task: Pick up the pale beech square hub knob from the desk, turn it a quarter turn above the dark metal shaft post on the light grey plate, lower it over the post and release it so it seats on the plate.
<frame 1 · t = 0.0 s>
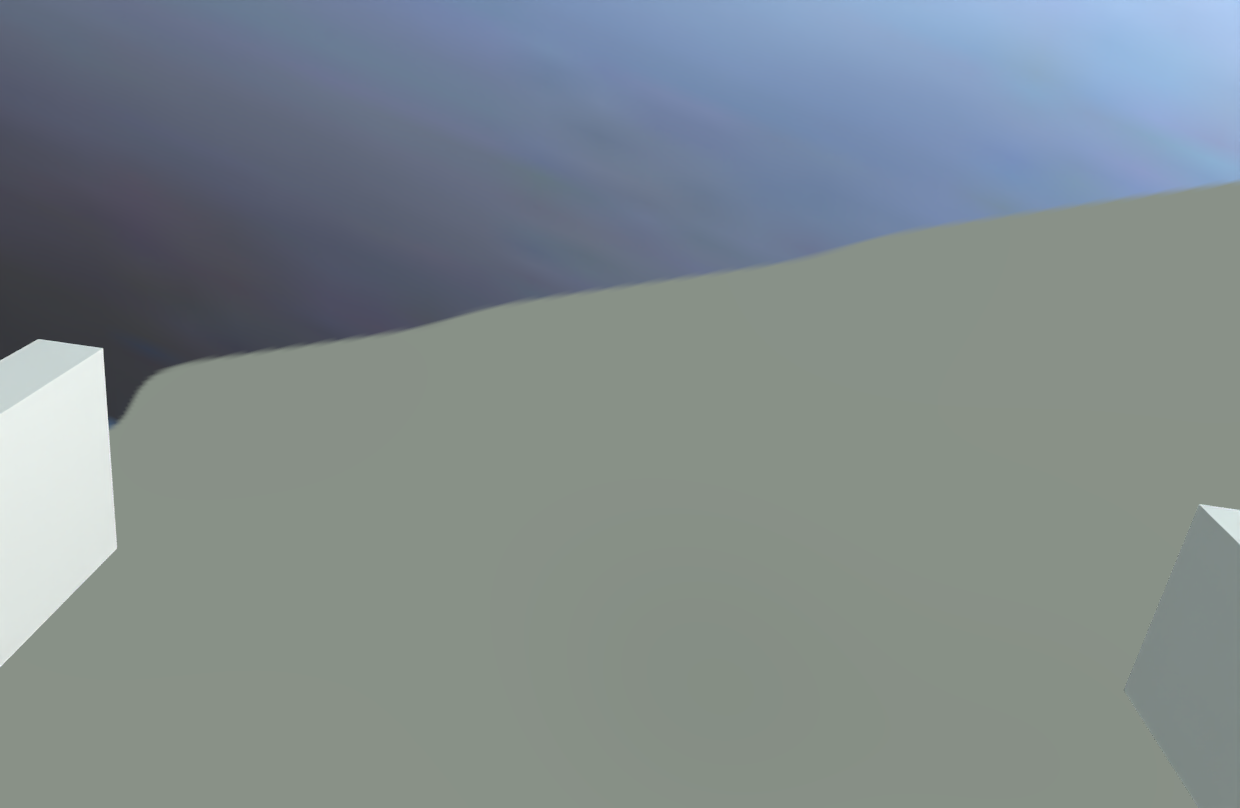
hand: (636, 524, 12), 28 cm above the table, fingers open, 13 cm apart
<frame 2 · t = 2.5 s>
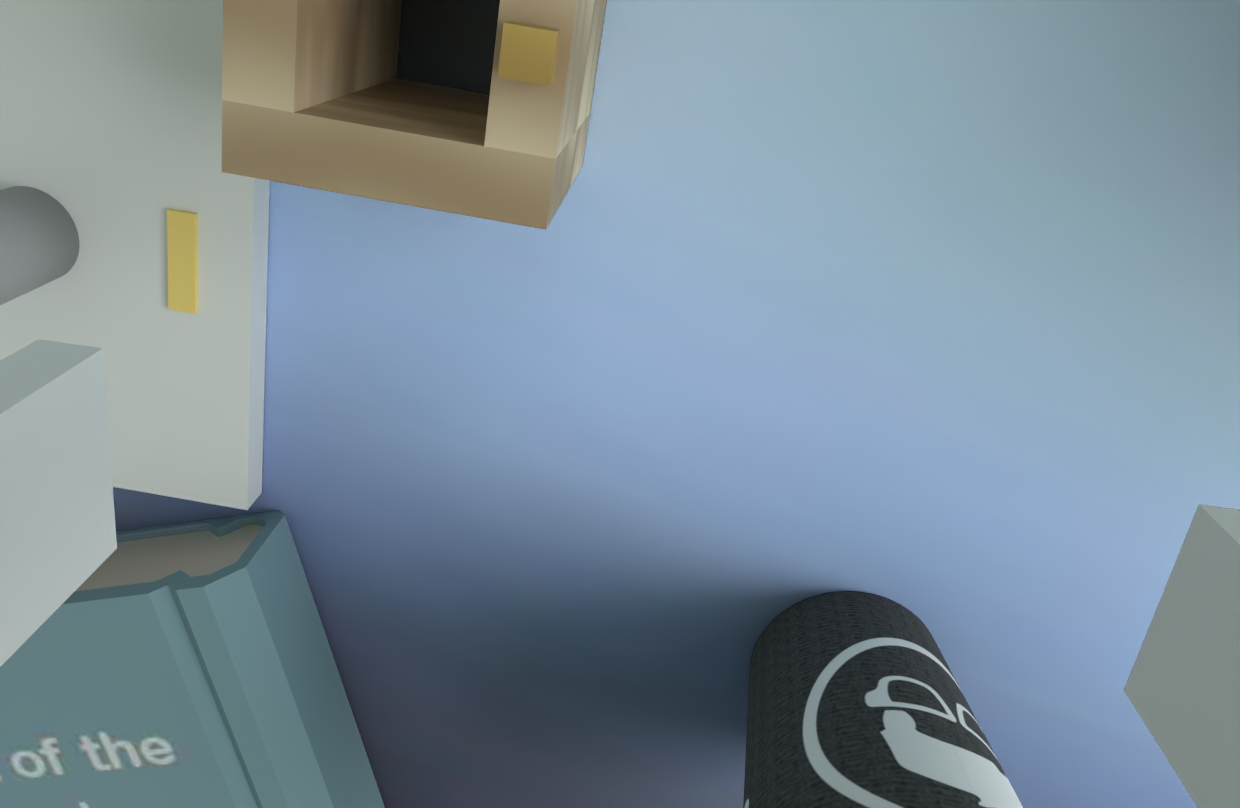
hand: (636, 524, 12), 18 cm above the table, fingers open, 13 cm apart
coffee cup: (842, 666, 35), on the table
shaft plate: (55, 225, 31), on the table
knob: (474, 15, 28), on the table
book: (188, 778, 40), on the table
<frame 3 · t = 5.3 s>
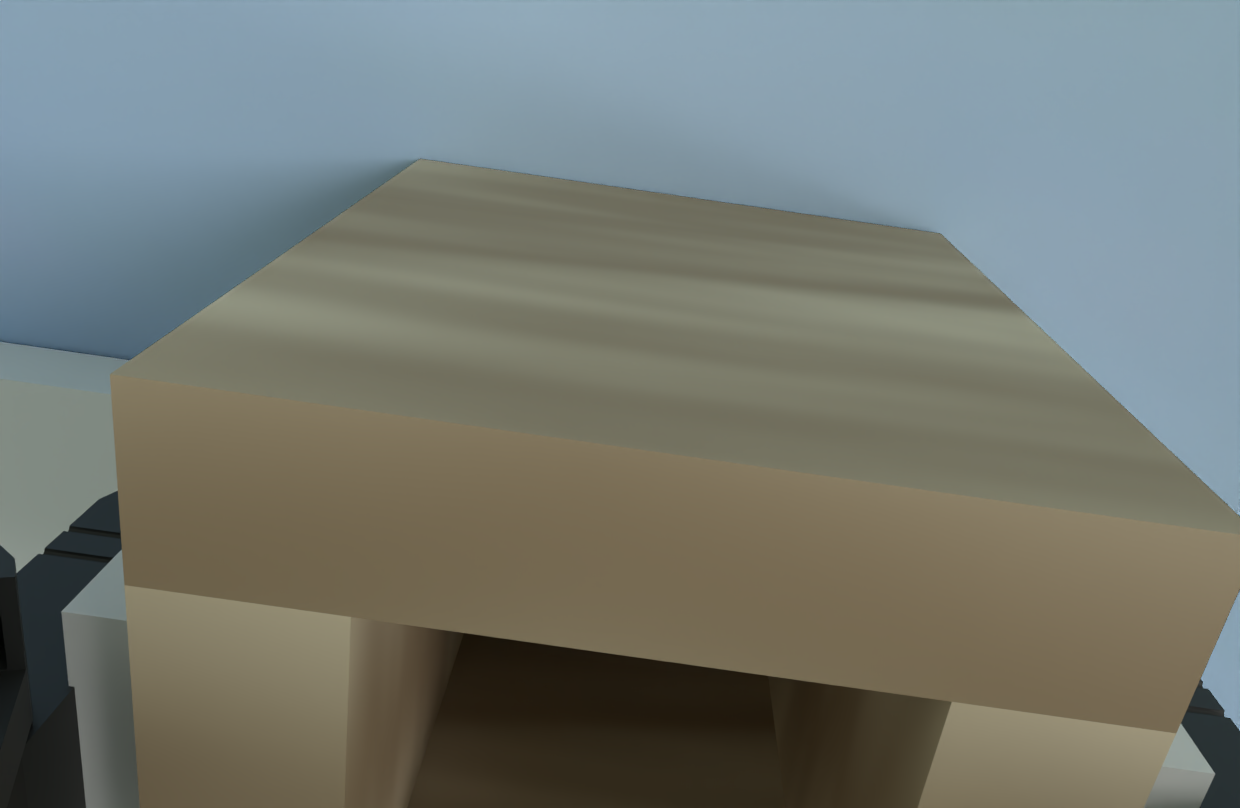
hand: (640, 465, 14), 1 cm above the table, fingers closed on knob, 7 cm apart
knob: (643, 433, 15), on the table, touching gripper
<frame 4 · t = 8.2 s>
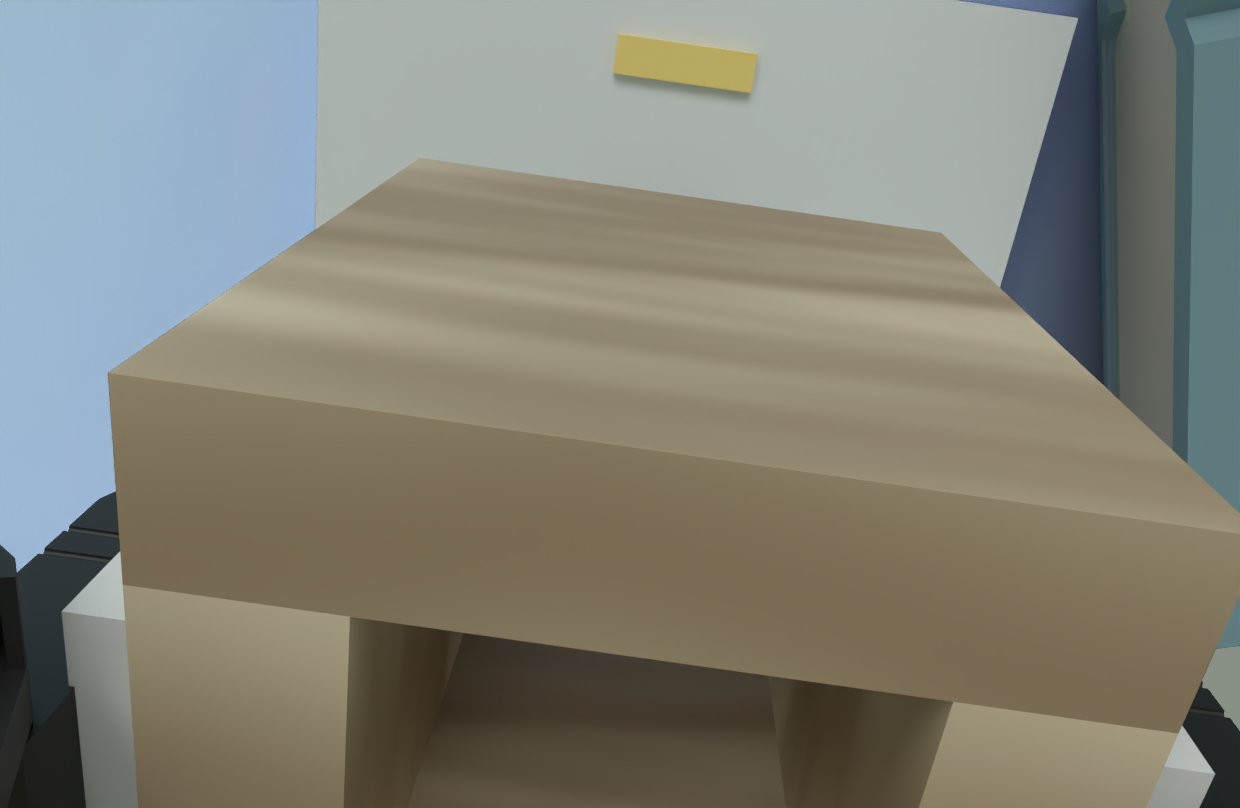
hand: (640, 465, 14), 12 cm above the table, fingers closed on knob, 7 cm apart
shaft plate: (655, 251, 25), on the table
knob: (643, 432, 15), point 11 cm above the table, touching gripper
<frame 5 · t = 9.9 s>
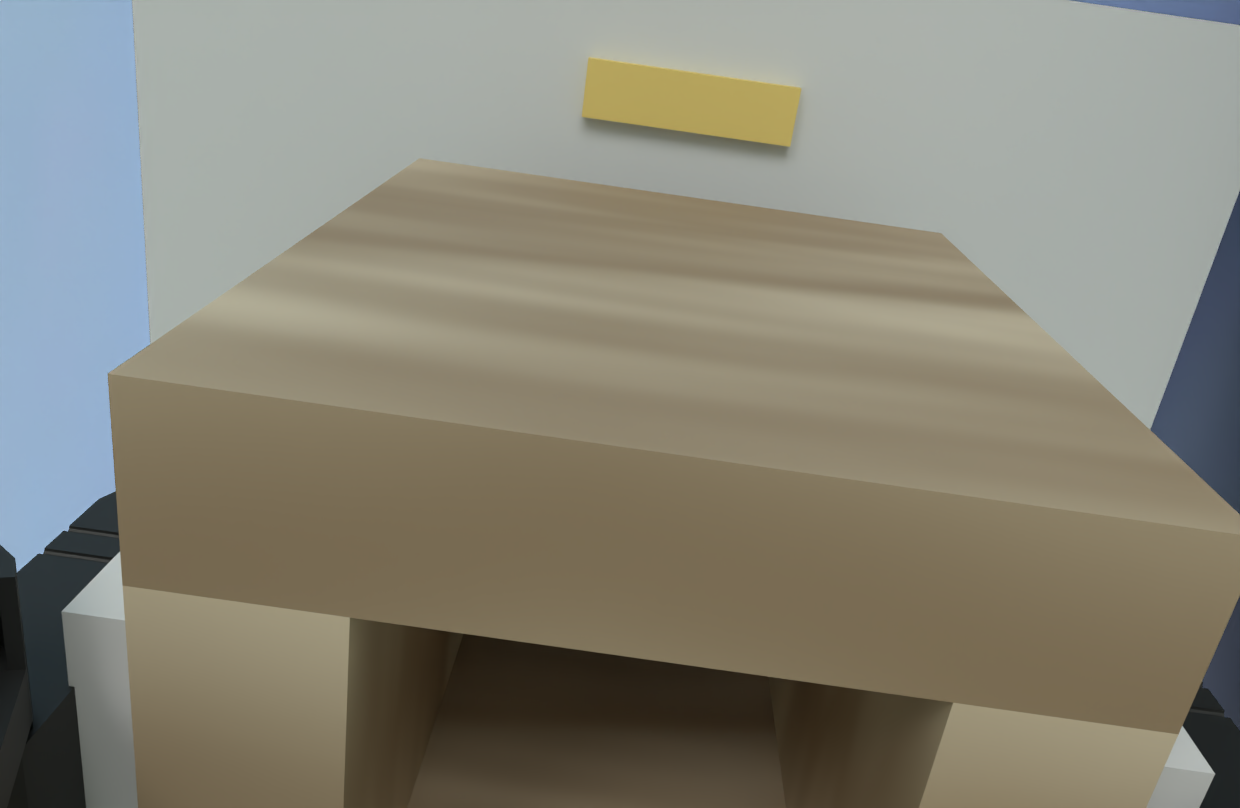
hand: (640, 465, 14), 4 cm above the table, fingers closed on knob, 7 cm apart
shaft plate: (647, 364, 17), on the table
knob: (643, 433, 15), point 3 cm above the table, touching gripper
when the fingers open (3 cm above the table, at t = 11.2 s): knob stays where it is, resting on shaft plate.
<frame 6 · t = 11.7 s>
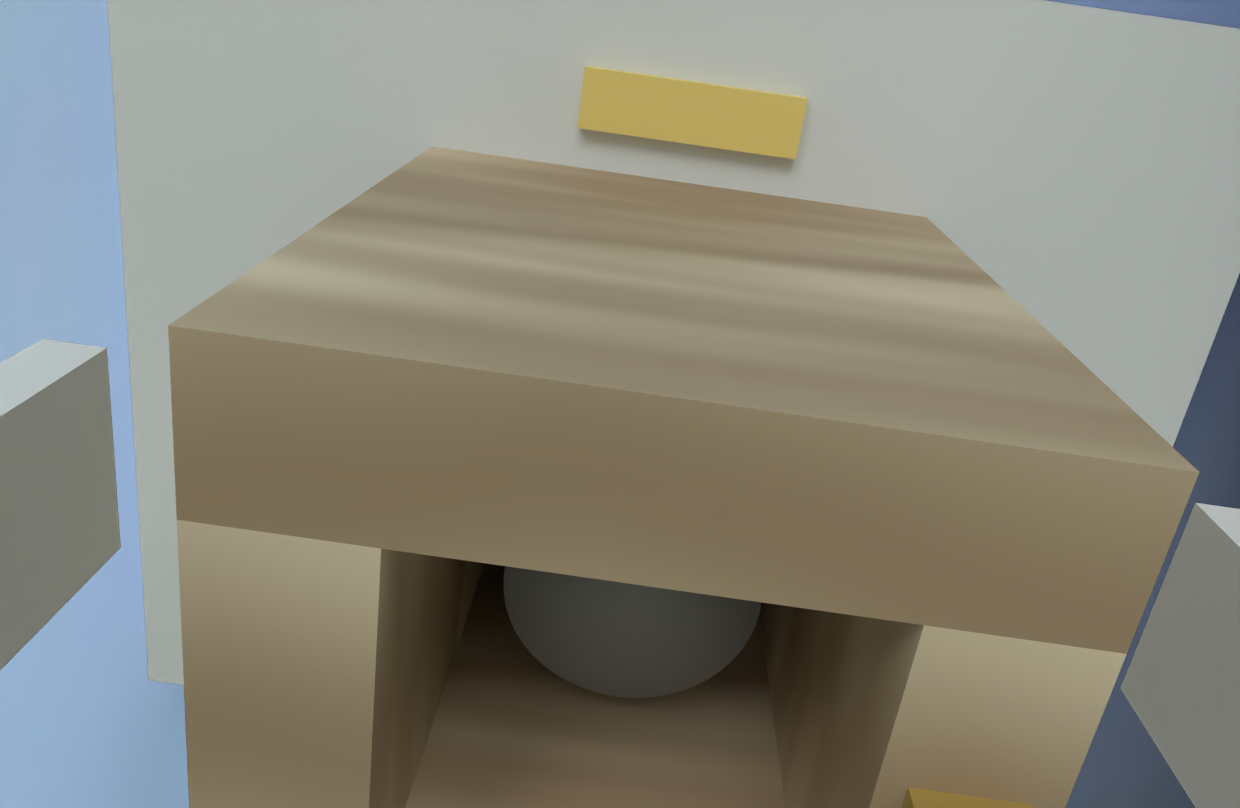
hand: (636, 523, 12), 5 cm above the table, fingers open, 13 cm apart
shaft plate: (646, 383, 17), on the table
knob: (644, 409, 16), point 1 cm above the table, touching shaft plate
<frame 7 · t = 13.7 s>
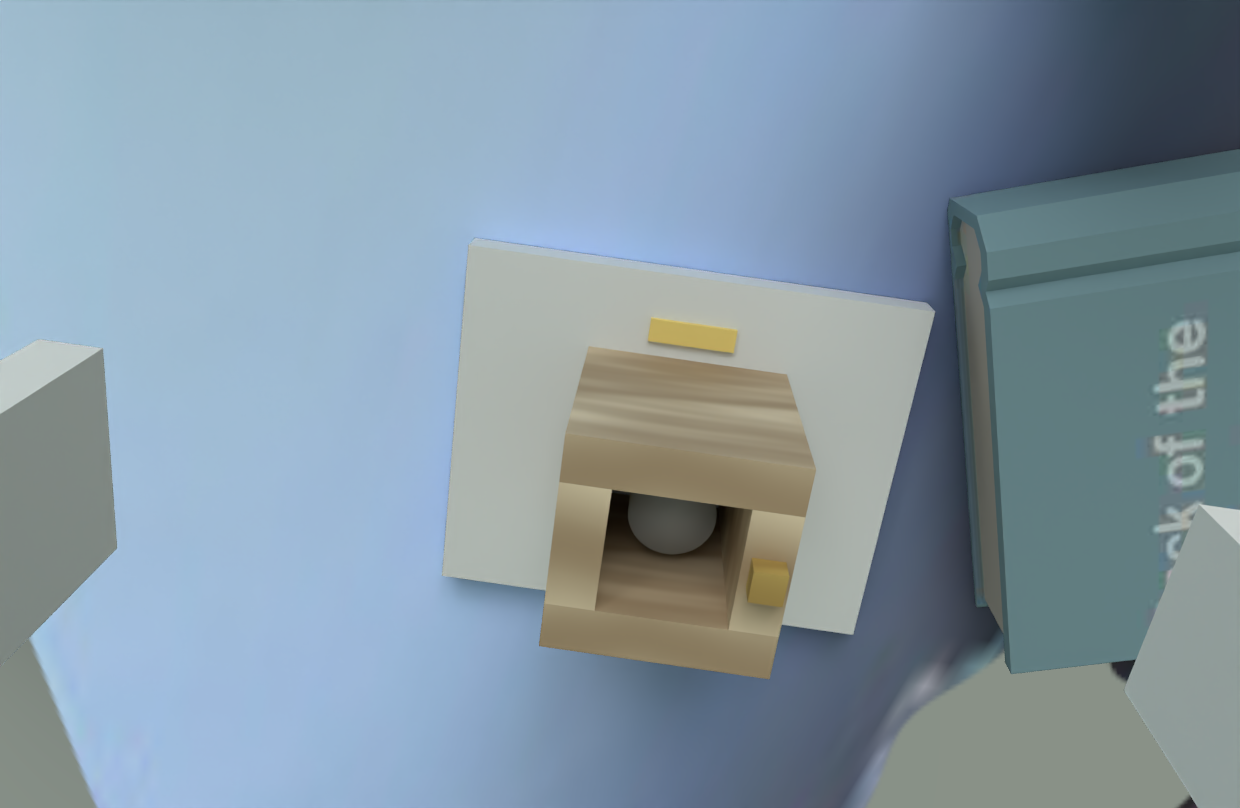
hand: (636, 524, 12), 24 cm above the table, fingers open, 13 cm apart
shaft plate: (672, 439, 38), on the table
knob: (672, 451, 37), point 1 cm above the table, touching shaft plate
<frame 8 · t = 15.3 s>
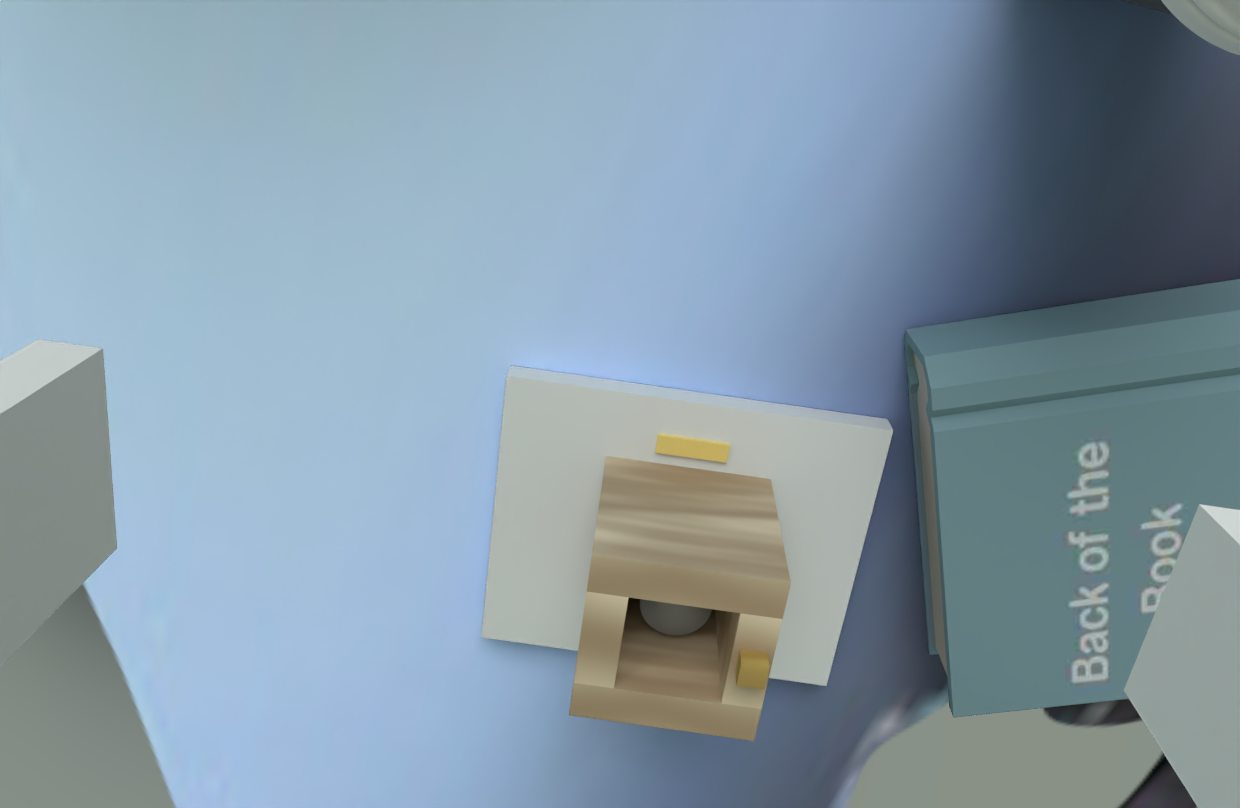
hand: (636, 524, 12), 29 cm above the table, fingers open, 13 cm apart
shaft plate: (675, 526, 45), on the table
knob: (675, 539, 44), point 1 cm above the table, touching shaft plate
book: (1182, 457, 43), on the table
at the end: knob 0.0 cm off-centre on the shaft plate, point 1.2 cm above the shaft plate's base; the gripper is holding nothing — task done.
